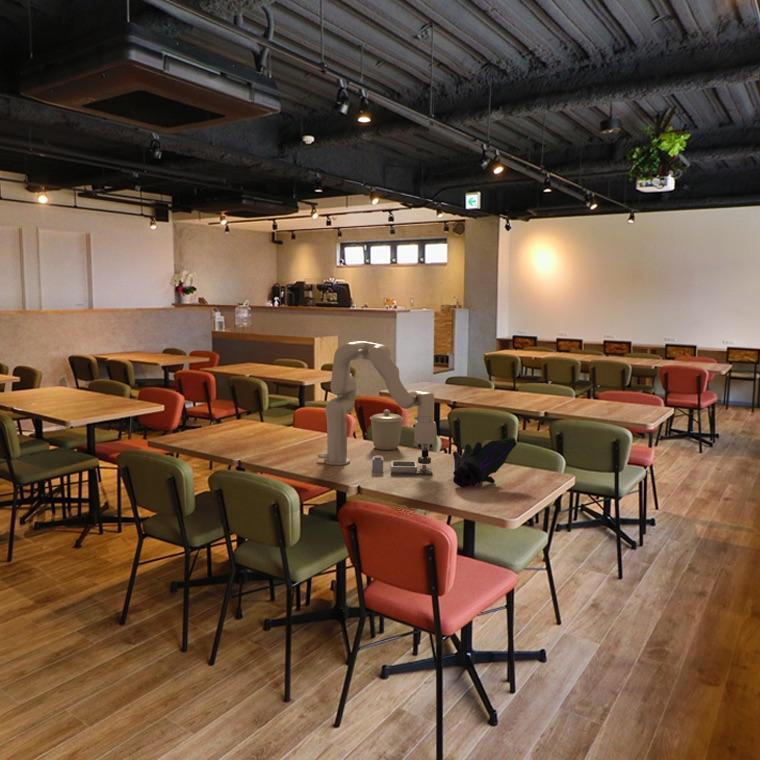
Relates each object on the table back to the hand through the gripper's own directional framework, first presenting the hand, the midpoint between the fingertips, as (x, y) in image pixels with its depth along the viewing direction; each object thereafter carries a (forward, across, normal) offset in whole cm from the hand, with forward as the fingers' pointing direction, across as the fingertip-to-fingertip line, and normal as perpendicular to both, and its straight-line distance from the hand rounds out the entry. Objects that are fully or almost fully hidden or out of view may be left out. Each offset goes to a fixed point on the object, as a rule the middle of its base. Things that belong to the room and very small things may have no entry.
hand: (425, 458), depth 291 cm
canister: (+7, -18, +46) cm, 50 cm away
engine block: (+6, -22, +1) cm, 23 cm away
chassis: (+7, -6, 0) cm, 9 cm away
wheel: (+2, 0, 0) cm, 2 cm away
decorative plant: (+7, +22, -15) cm, 28 cm away
